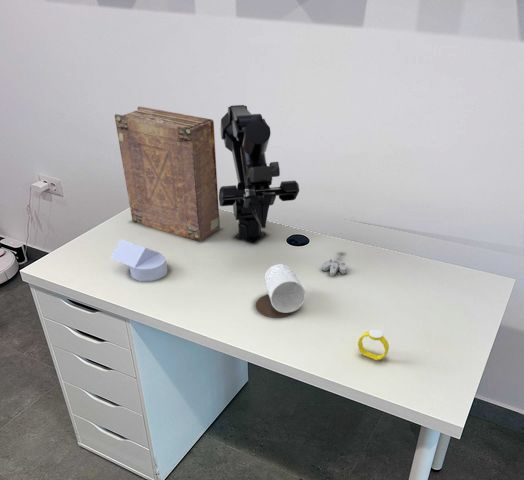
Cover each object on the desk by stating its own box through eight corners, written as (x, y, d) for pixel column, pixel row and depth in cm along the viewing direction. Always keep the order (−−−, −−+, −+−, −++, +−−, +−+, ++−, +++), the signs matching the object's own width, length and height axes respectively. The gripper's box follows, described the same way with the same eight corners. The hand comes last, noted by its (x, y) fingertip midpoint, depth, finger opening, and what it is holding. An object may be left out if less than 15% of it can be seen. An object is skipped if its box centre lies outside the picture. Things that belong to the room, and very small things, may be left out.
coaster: (270, 290, 128) (270, 289, 128) (305, 302, 123) (305, 301, 123) (247, 309, 122) (247, 308, 121) (283, 322, 117) (283, 321, 117)
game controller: (323, 276, 132) (323, 267, 131) (320, 254, 141) (320, 245, 140) (346, 276, 132) (347, 267, 131) (341, 254, 141) (342, 245, 140)
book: (131, 221, 158) (113, 114, 139) (152, 210, 164) (137, 105, 145) (200, 242, 147) (190, 128, 129) (220, 229, 153) (213, 119, 135)
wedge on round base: (112, 270, 136) (149, 285, 130) (107, 246, 132) (145, 260, 126) (137, 255, 142) (174, 269, 136) (133, 232, 137) (171, 245, 132)
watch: (354, 355, 108) (357, 331, 104) (360, 348, 110) (363, 324, 106) (382, 365, 106) (386, 341, 102) (388, 357, 107) (392, 333, 104)
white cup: (280, 297, 129) (290, 318, 121) (255, 281, 125) (263, 302, 117) (301, 272, 126) (312, 292, 118) (276, 255, 122) (286, 274, 114)
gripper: (217, 151, 119) (226, 219, 118) (298, 146, 122) (308, 211, 120) (215, 174, 130) (223, 235, 129) (290, 168, 133) (299, 228, 131)
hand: (263, 227), depth 127 cm, fingers closed
